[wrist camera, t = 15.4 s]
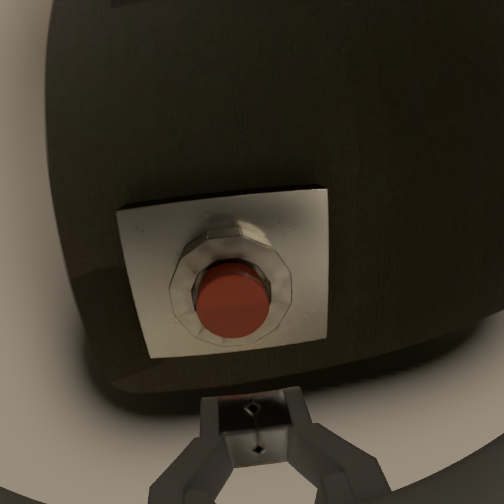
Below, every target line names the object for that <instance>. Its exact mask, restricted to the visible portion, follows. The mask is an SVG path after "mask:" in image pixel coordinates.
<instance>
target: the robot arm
mask: <svg viewBox="0 0 504 504" xmlns="http://www.w3.org/2000/svg"><path fill="white" fill-rule="evenodd" d="M281 462H289V464H291V465H292V466H293V467H294V468H295V469H296V470H297V471H298V472H299V473H300V474H302V475H303V476H304V477H305V478H306V479H307V480H308V481H310V482H311V483H312V484H313V485H314V486H315V487H316V488H318V490H317V494H316V499H315V504H504V433H503V434H502V435H500V436H499V437H497V438H496V439H494V440H493V441H491V442H490V443H488V444H487V445H485V446H484V447H482V448H480V449H479V450H477V451H475V452H474V453H472V454H470V455H468V456H467V457H465V458H463V459H462V460H460V461H458V462H456V463H454V464H452V465H450V466H448V467H446V468H444V469H443V470H441V471H438V472H436V473H434V474H432V475H430V476H428V477H426V478H424V479H421V480H419V481H417V482H415V483H413V484H410V485H408V486H405V487H403V488H400V489H398V490H395V491H391V489H390V487H389V485H388V482H387V480H386V478H385V476H384V474H383V472H382V470H381V467H380V465H379V463H378V461H377V459H376V458H375V457H373V456H371V455H369V454H368V453H366V452H364V451H362V450H361V449H359V448H357V447H356V446H354V445H352V444H351V443H349V442H347V441H346V440H344V439H342V438H341V437H339V436H338V435H336V434H334V433H333V432H331V431H330V430H328V429H327V428H325V427H323V426H322V425H320V424H319V423H312V420H311V417H310V414H309V412H308V408H307V406H306V403H305V400H304V397H303V394H302V391H301V388H300V387H299V386H297V387H291V388H285V389H283V390H282V389H280V390H274V391H266V392H259V393H252V394H244V395H232V396H219V397H205V398H202V400H201V412H200V437H197V438H194V439H193V440H192V441H191V443H190V444H189V445H188V446H187V447H186V448H185V449H184V450H183V452H182V453H181V454H180V455H179V456H178V457H177V458H176V459H175V460H174V462H173V463H172V464H171V465H170V466H169V467H168V468H167V469H166V470H165V471H164V472H163V473H162V475H161V476H160V477H159V478H158V479H157V480H156V481H155V482H154V483H153V484H152V485H151V486H150V489H149V497H148V504H216V503H215V502H214V500H215V499H216V497H217V496H218V494H219V492H220V491H221V489H222V488H223V486H224V484H225V483H226V481H227V479H228V478H229V476H230V474H231V473H232V471H233V468H240V467H249V466H256V465H263V464H273V463H281ZM260 463H261V464H260ZM0 504H46V503H42V502H39V501H36V500H33V499H30V498H28V497H25V496H22V495H20V494H17V493H15V492H12V491H10V490H7V489H5V488H3V487H0Z"/></svg>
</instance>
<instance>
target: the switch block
mask: <svg viewBox="0 0 504 504" xmlns="http://www.w3.org/2000/svg"><path fill="white" fill-rule="evenodd" d="M115 213H116V219H117V224H118V230H119V235H120V241H121V246H122V251H123V256H124V260H125V265H126V270H127V274H128V278H129V283H130V287H131V291H132V295H133V299H134V303H135V307H136V311H137V314H138V318H139V322H140V325H141V329H142V332H143V336H144V339H145V343H146V346H147V349H148V352H149V356H150V358H151V359H152V358H170V357H184V356H197V355H208V354H218V353H228V352H237V351H245V350H253V349H261V348H268V347H275V346H282V345H289V344H295V343H301V342H307V341H313V340H319V339H324V338H327V324H328V296H329V207H328V188H326V187H323V186H320V185H317V184H306V185H291V186H278V187H266V188H255V189H244V190H234V191H224V192H215V193H206V194H197V195H189V196H181V197H173V198H166V199H159V200H151V201H144V202H138V203H131V204H126V205H124V206H123V207H121V208H119V209H118V210H116V211H115ZM231 262H233V263H241V264H244V265H246V266H249V267H250V268H252V269H253V270H254V271H256V272H257V273H258V275H259V276H260V277H261V279H262V281H263V284H264V286H265V289H266V292H267V295H268V298H269V312H268V315H267V318H266V320H265V321H264V323H263V324H262V325H261V327H260V328H258V329H257V330H256V331H255V332H253V333H251V334H250V335H247V336H244V337H241V338H223V337H220V336H217V335H215V334H213V333H211V332H210V331H208V330H207V329H206V328H205V327H204V326H203V325H202V323H201V322H200V320H199V318H198V315H197V311H196V301H197V293H198V287H199V284H200V281H201V279H202V278H203V276H204V275H205V274H206V273H207V272H208V271H209V270H210V269H212V268H213V267H215V266H217V265H220V264H223V263H231Z"/></svg>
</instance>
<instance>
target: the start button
mask: <svg viewBox="0 0 504 504" xmlns="http://www.w3.org/2000/svg"><path fill="white" fill-rule="evenodd" d="M196 311H197V315H198V318H199V320H200V322H201V323H202V325H203V326H204V327H205V328H206V329H207V330H208V331H210V332H211V333H213V334H215V335H217V336H220V337H223V338H241V337H244V336H247V335H250V334H251V333H253V332H255V331H256V330H257V329H258V328H260V327H261V325H262V324H263V323H264V321H265V320H266V318H267V315H268V312H269V298H268V295H267V292H266V289H265V286H264V284H263V281H262V279H261V277H260V276H259V275H258V273H257V272H256V271H254V270H253V269H252V268H250V267H249V266H246V265H244V264H241V263H233V262H231V263H223V264H220V265H217V266H215V267H213V268H212V269H210V270H209V271H208V272H207V273H206V274H205V275H204V276H203V278H202V279H201V281H200V284H199V287H198V293H197V301H196Z"/></svg>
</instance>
